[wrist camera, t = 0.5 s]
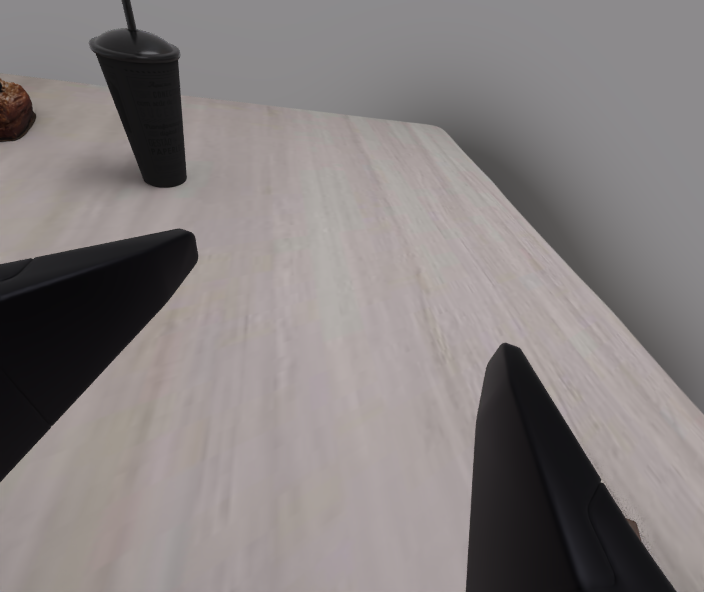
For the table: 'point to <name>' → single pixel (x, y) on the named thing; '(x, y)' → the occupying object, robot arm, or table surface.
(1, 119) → the pastry
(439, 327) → the table surface
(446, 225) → the table surface
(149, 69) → the drinking cup
